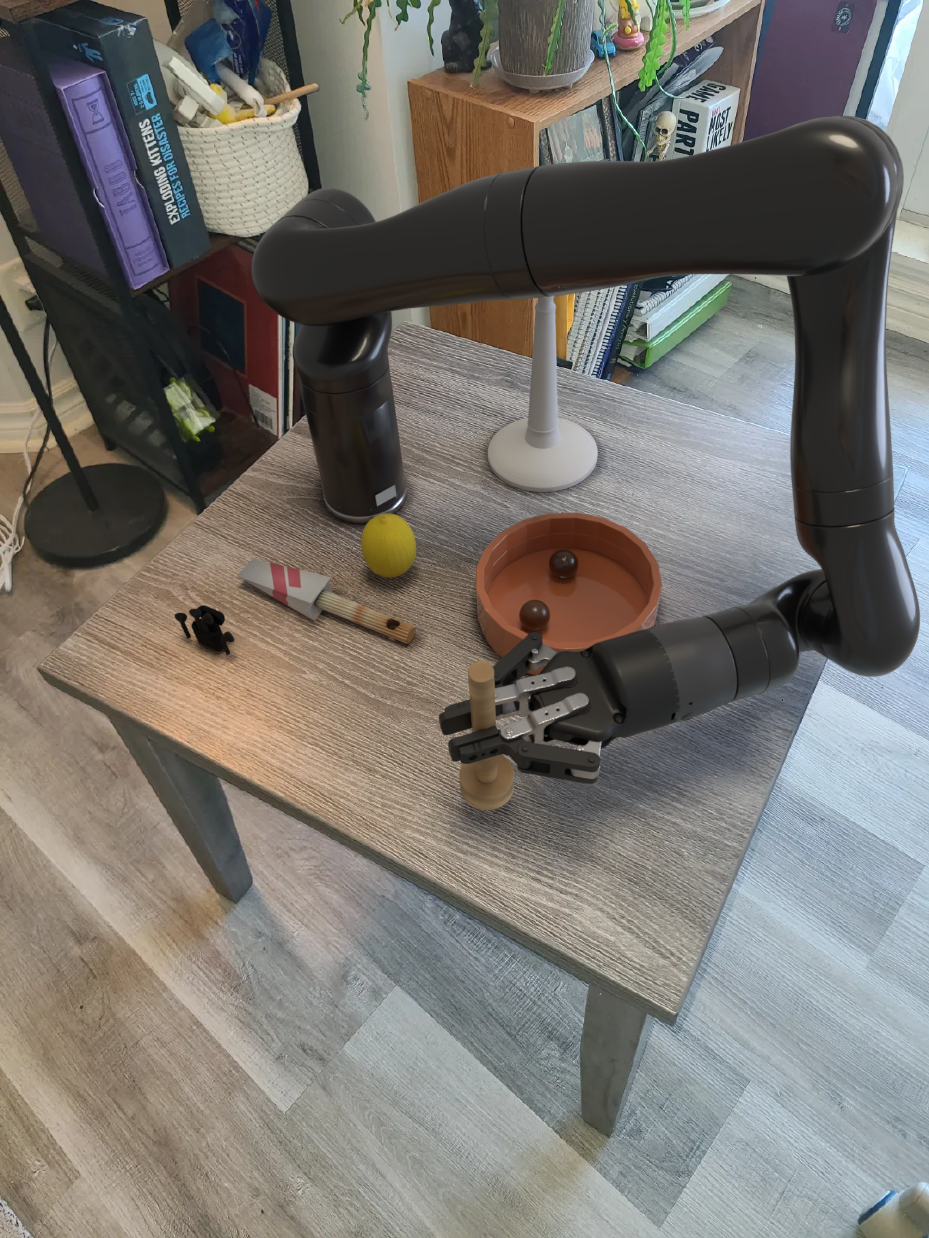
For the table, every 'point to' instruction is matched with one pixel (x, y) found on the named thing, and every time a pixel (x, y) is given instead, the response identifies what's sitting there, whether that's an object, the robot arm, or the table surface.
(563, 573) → the bead
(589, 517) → the bowl
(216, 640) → the wireless earbuds
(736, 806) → the table surface
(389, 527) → the lemon
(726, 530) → the table surface
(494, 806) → the wooden peg stand
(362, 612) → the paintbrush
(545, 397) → the candlestick
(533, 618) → the bead
